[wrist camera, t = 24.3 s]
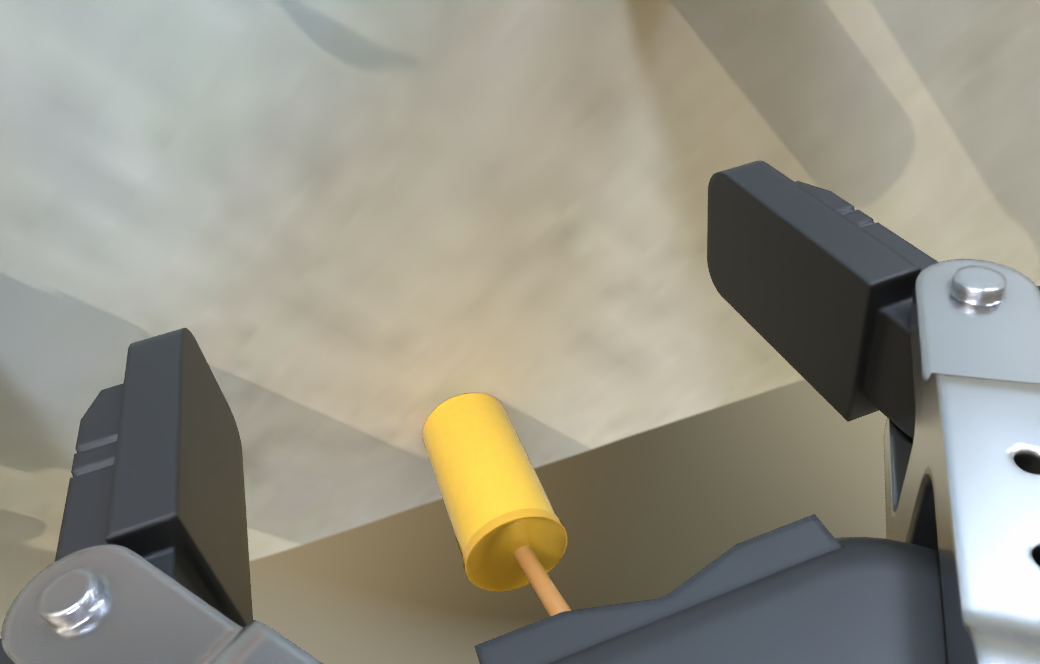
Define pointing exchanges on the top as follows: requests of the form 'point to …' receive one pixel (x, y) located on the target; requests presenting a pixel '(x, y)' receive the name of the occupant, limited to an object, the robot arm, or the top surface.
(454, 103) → the top surface
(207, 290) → the top surface
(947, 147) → the top surface
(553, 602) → the spoon crock
